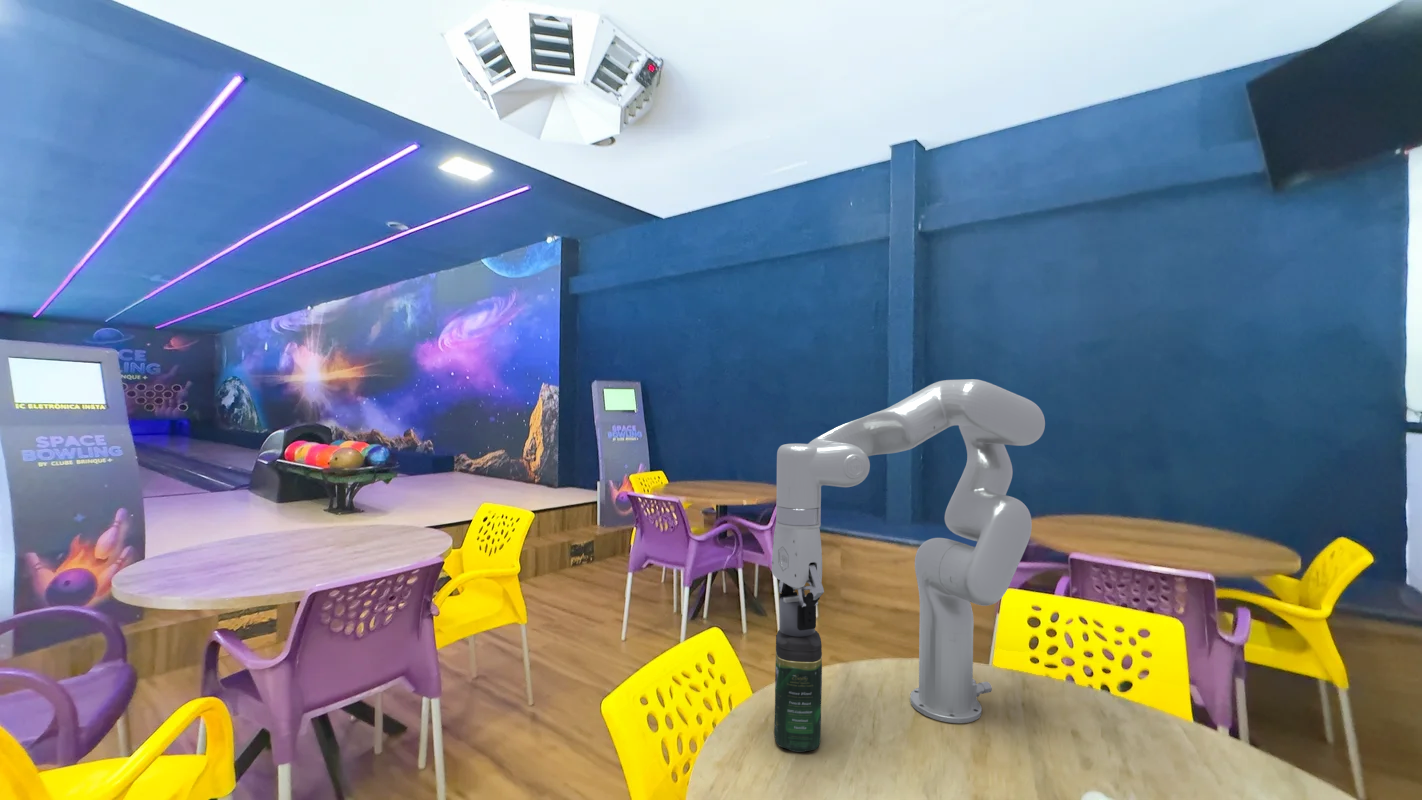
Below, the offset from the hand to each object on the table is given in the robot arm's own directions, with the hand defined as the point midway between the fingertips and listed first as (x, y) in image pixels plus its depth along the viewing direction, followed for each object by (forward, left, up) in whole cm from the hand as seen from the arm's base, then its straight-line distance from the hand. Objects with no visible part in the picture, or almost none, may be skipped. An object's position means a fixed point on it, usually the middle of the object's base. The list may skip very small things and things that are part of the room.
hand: (797, 621), depth 104 cm
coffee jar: (0, 0, -20) cm, 20 cm away
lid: (0, 0, -2) cm, 2 cm away
